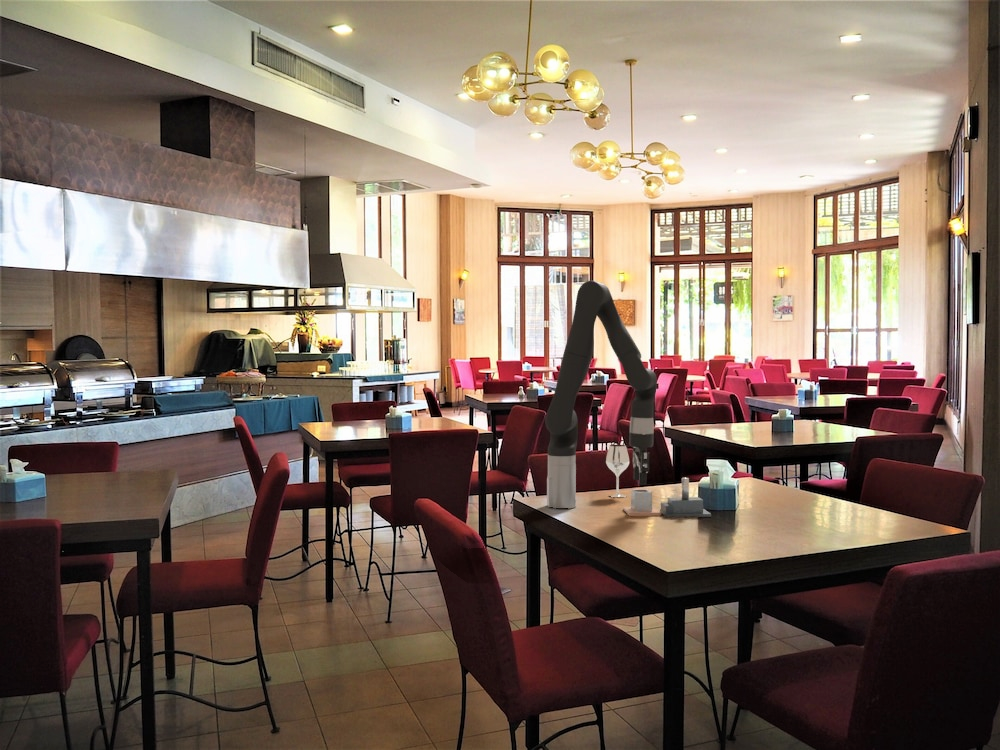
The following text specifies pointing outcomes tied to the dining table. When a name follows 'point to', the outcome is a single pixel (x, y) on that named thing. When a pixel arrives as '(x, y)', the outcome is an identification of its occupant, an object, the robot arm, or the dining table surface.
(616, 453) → the wineglass
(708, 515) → the grey peg stand
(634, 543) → the dining table surface
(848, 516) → the dining table surface
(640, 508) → the white cube
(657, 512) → the terracotta tile
